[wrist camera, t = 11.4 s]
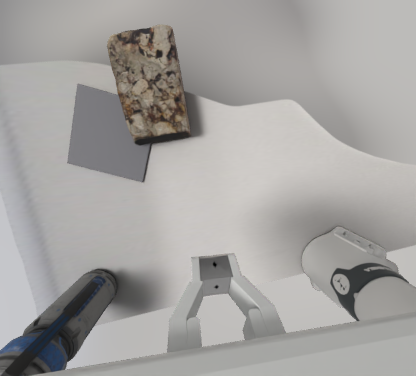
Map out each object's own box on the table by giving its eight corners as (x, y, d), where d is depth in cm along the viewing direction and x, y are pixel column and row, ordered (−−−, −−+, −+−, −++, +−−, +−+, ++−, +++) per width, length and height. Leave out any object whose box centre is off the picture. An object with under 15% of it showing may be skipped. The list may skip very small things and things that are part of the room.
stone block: (192, 137, 39) (176, 48, 37) (193, 131, 32) (173, 20, 30) (137, 146, 38) (116, 54, 35) (125, 141, 31) (98, 27, 29)
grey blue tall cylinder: (129, 271, 44) (32, 412, 19) (108, 308, 46) (-6, 480, 21) (95, 254, 43) (-55, 378, 18) (74, 292, 45) (-87, 453, 20)
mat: (158, 107, 37) (157, 106, 37) (143, 181, 40) (142, 182, 39) (79, 84, 36) (77, 83, 36) (69, 163, 39) (67, 163, 38)
